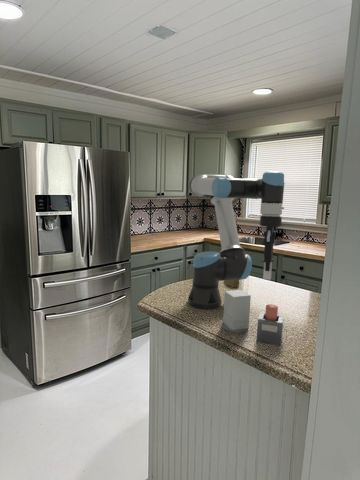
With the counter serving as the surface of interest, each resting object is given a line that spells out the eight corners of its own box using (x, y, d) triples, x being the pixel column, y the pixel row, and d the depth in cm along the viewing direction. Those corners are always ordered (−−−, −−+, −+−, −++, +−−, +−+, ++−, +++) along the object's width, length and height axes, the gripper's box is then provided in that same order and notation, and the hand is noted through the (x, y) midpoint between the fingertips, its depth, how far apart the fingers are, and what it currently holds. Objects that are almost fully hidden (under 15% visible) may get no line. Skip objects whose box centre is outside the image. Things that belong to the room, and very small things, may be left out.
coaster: (218, 330, 118) (218, 328, 118) (224, 320, 127) (225, 318, 127) (245, 335, 114) (246, 333, 114) (250, 325, 124) (250, 322, 123)
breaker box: (256, 341, 110) (257, 319, 109) (259, 332, 117) (260, 312, 116) (280, 345, 108) (282, 323, 106) (281, 337, 114) (283, 315, 113)
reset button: (263, 325, 110) (265, 307, 109) (265, 321, 114) (266, 303, 113) (275, 328, 109) (277, 309, 108) (276, 323, 113) (278, 305, 112)
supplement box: (249, 328, 118) (251, 295, 116) (231, 330, 116) (233, 297, 114) (239, 320, 125) (241, 289, 123) (222, 322, 123) (224, 290, 121)
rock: (244, 284, 169) (243, 277, 178) (235, 272, 167) (234, 265, 177) (227, 294, 172) (227, 286, 181) (218, 282, 170) (218, 275, 180)
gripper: (280, 216, 109) (276, 284, 112) (282, 215, 121) (278, 276, 124) (258, 215, 111) (254, 281, 114) (262, 214, 123) (258, 274, 126)
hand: (267, 278), depth 119 cm, fingers closed
